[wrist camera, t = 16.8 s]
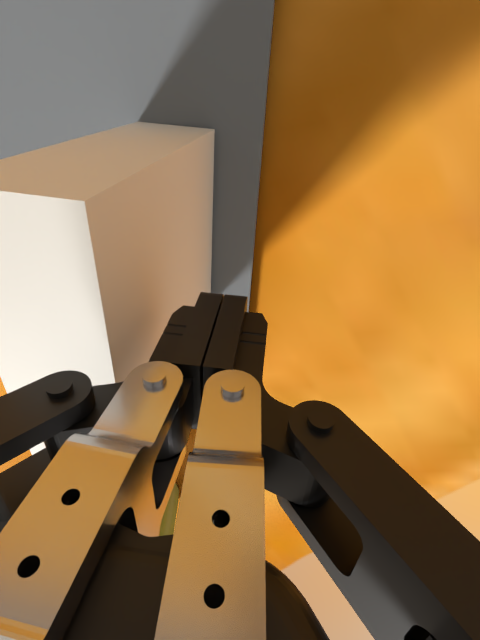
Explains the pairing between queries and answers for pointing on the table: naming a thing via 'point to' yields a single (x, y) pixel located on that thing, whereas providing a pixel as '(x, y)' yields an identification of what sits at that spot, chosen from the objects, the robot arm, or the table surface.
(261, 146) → the slate mat
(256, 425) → the robot arm
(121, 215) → the cream block
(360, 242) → the table surface
